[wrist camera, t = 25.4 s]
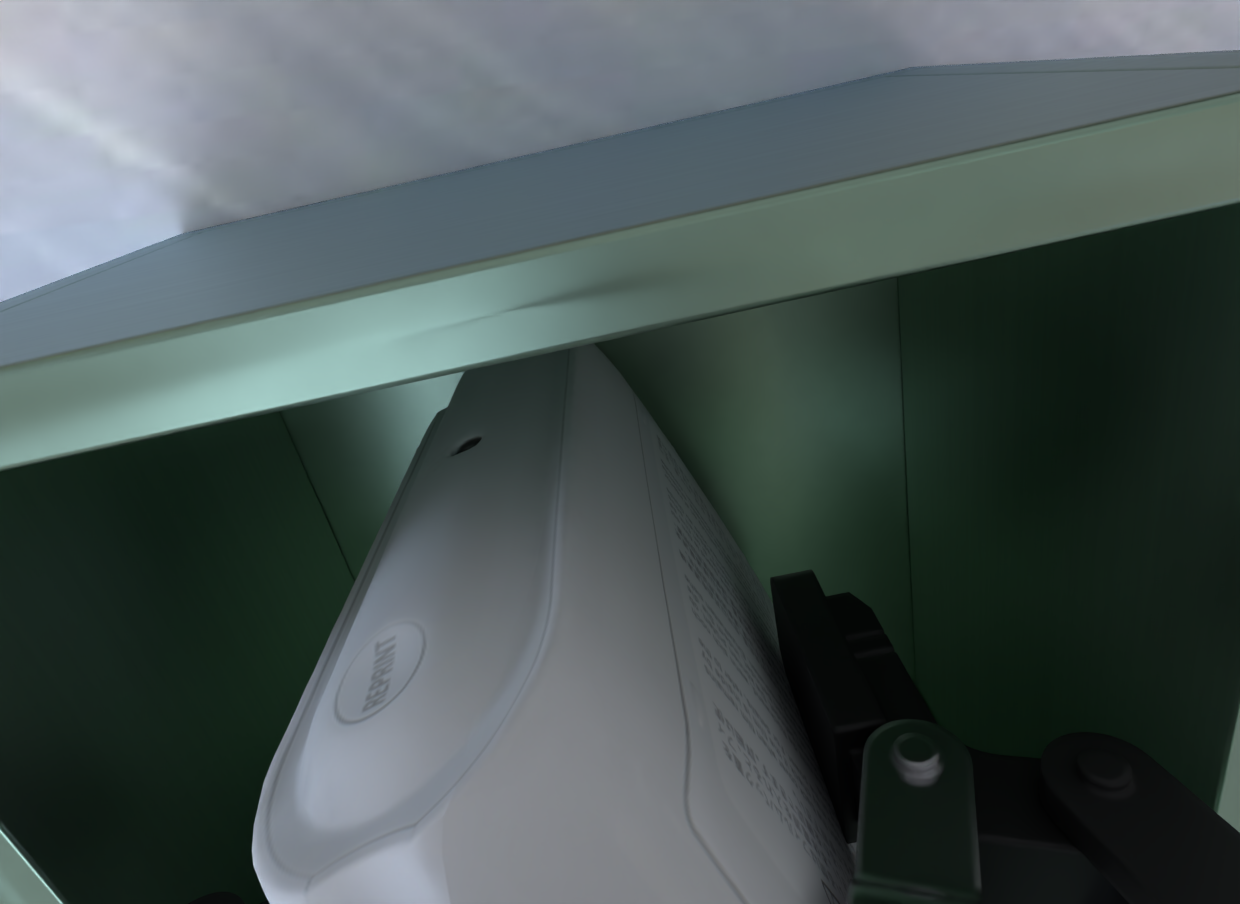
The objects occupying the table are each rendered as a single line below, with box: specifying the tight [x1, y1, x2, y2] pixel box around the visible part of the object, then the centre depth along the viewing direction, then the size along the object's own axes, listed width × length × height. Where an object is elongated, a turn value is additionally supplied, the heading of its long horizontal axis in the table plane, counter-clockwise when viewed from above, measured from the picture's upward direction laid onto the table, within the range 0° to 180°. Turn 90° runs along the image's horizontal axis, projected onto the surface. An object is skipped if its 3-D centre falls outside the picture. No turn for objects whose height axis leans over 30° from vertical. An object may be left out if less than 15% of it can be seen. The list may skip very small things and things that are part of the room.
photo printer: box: [252, 343, 857, 904], centre depth 12 cm, size 10×4×12 cm, turn 32°
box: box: [0, 50, 1240, 904], centre depth 15 cm, size 17×16×11 cm
